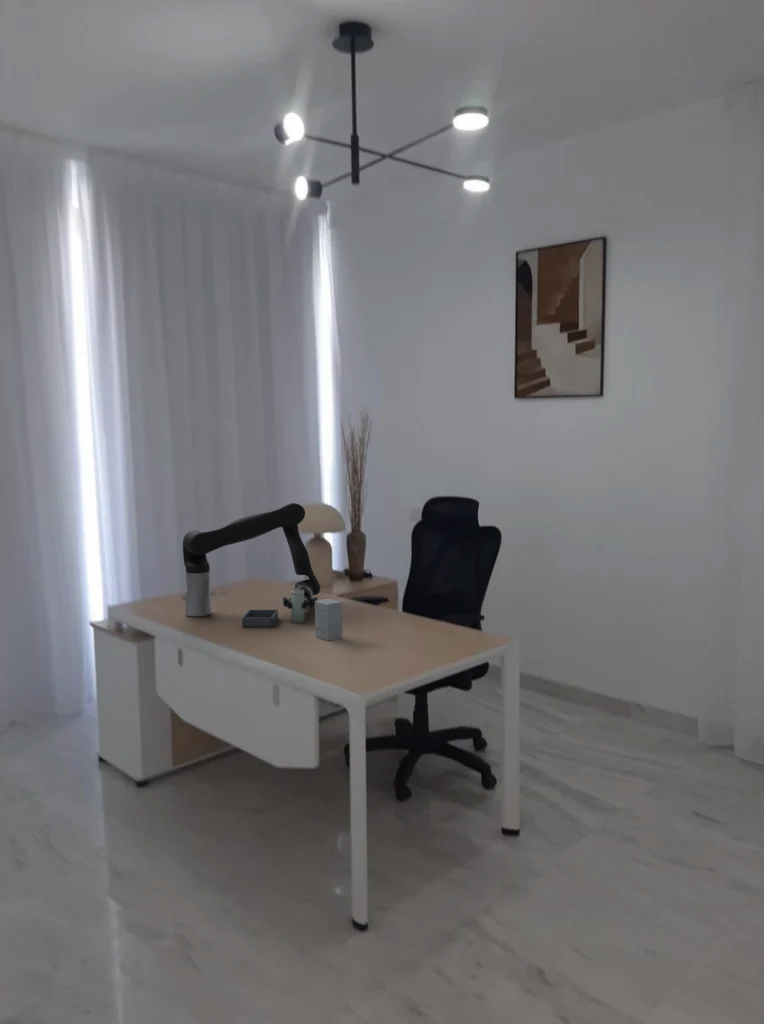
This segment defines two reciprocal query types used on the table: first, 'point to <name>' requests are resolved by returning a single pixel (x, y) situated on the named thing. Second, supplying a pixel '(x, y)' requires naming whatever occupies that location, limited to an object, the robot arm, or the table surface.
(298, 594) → the canister
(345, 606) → the table surface
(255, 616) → the tray
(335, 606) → the small box
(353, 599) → the table surface
